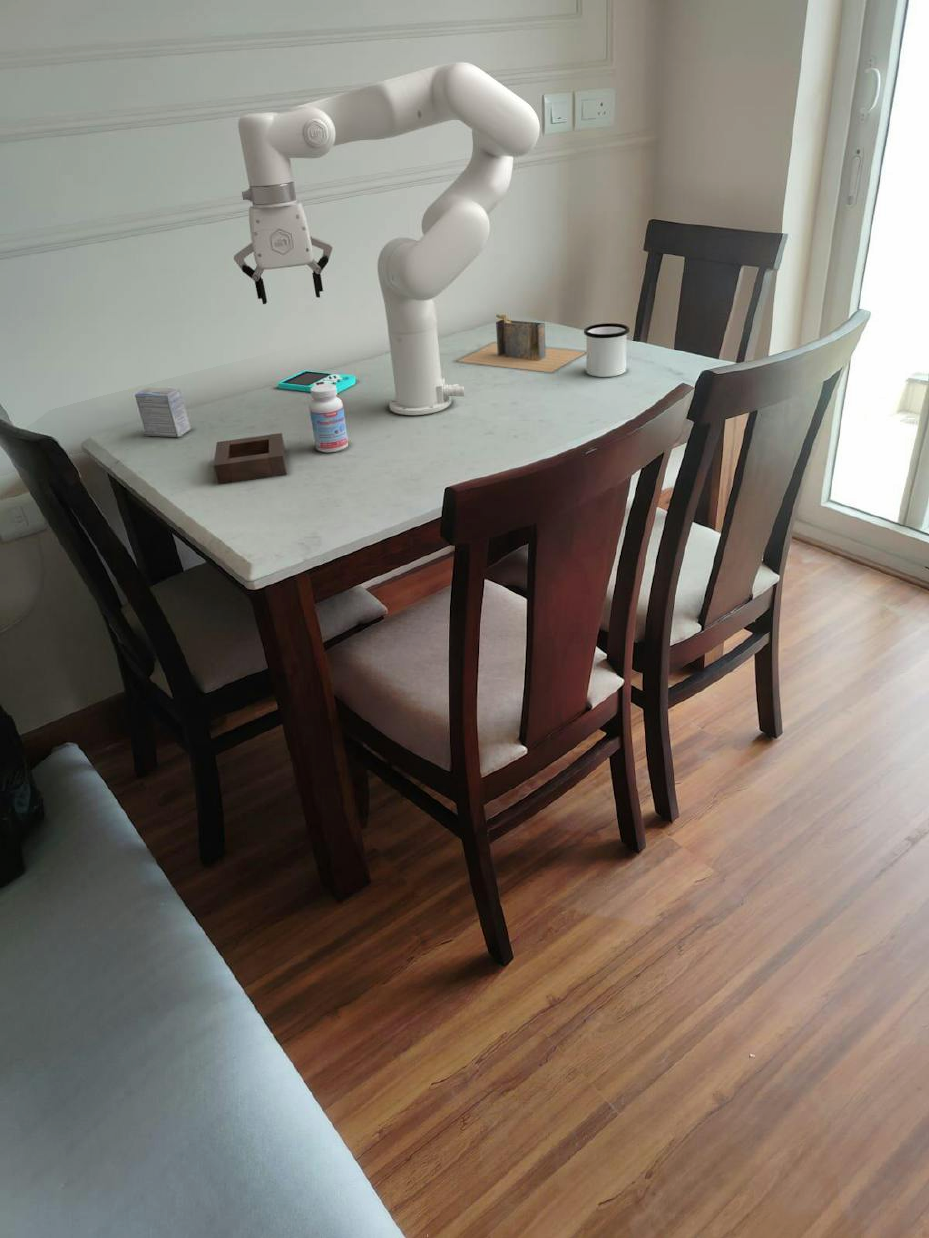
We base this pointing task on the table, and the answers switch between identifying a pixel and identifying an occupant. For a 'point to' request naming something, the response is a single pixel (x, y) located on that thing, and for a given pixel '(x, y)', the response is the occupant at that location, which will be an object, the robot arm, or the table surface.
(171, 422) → the medicine box
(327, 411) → the pill bottle
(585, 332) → the mug
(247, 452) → the holder
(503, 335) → the architectural model on board
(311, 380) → the handheld game console
